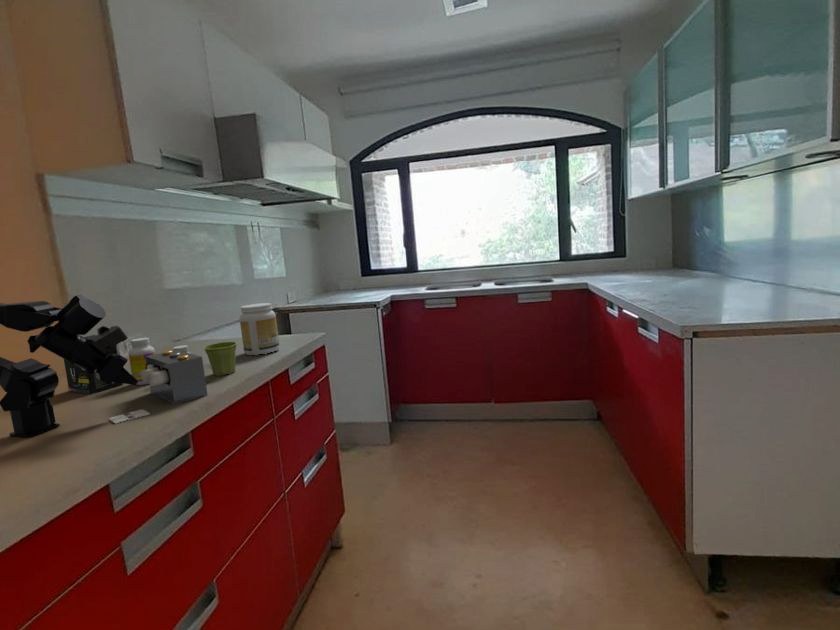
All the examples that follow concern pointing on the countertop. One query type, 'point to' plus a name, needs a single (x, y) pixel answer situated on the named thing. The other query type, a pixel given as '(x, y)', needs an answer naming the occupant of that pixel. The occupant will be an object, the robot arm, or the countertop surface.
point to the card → (129, 416)
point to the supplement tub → (259, 329)
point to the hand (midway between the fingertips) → (136, 382)
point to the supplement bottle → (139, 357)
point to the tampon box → (86, 377)
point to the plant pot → (221, 357)
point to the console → (179, 376)
